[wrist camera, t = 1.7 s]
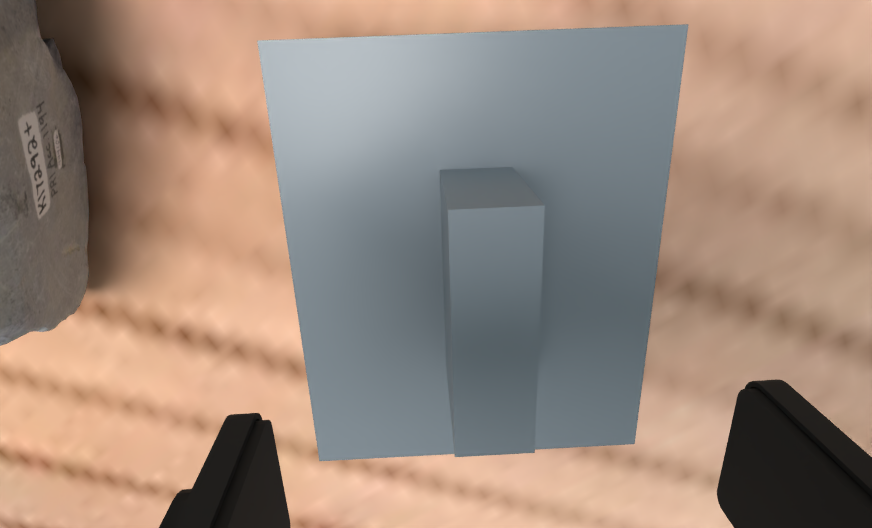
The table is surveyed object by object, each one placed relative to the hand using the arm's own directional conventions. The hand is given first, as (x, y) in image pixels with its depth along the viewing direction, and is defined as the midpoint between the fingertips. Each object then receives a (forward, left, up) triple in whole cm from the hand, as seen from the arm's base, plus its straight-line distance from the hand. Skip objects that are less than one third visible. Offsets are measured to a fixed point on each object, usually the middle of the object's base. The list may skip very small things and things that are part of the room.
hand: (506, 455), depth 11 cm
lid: (0, 0, -12) cm, 12 cm away
